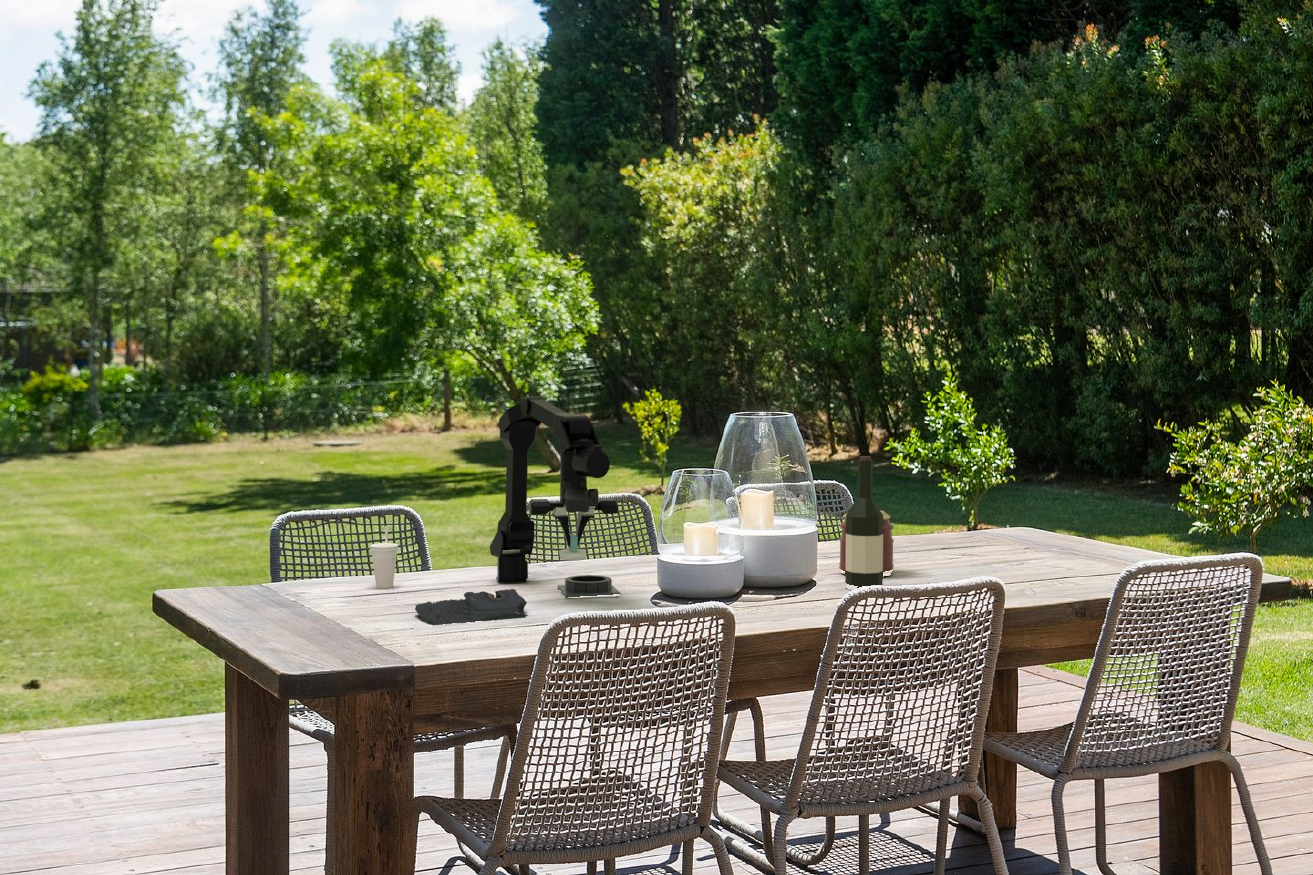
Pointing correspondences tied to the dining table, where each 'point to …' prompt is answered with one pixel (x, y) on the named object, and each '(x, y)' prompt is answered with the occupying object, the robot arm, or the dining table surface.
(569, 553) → the cap
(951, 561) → the dining table surface
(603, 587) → the square ring flange
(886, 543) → the canister
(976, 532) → the dining table surface
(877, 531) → the wine bottle
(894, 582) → the dining table surface
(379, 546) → the smoothie
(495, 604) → the dark slate chunk
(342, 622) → the dining table surface
